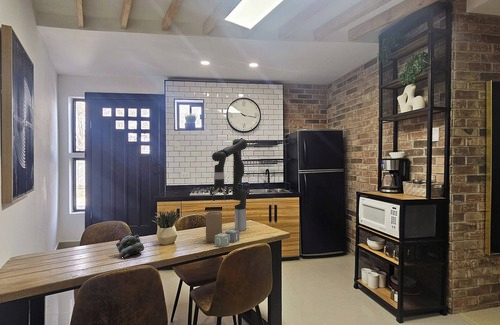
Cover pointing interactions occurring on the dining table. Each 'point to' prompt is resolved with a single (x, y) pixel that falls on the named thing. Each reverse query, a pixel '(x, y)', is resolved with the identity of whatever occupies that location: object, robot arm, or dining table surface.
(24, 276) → the dining table surface
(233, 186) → the robot arm
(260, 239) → the dining table surface
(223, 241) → the sage numbered cube
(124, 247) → the dark green lumpy piece
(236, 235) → the slate numbered cube
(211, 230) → the wooden block
